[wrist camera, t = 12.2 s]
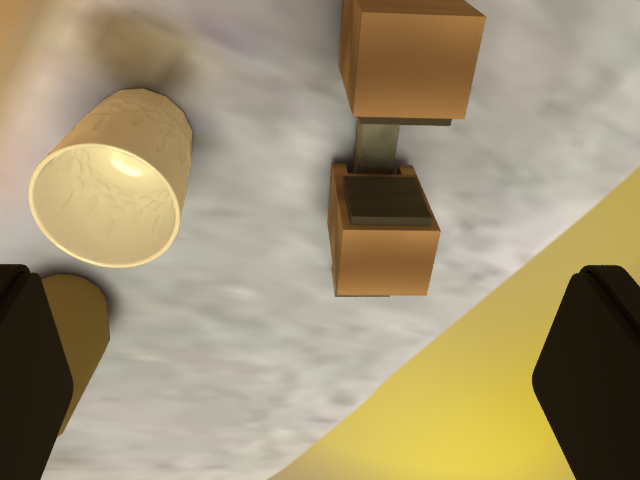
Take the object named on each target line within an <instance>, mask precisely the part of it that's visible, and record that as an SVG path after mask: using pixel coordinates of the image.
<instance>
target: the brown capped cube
mask: <svg viewBox="0 0 640 480" xmlns="http://www.w3.org/2000/svg"><path fill="white" fill-rule="evenodd" d="M327 223H328V230H329V238H330V246H331V254H332V261H333V269H334V277H335V285H336V293H337V295H417V296H427V291H428V286H429V282H430V277H431V273H432V268H433V264H434V259H435V254H436V250H437V245H438V241H439V236H440V232H441V231H440V228H439V226H438V224H437V221H436V219H435V217H434V215H433V212H432V210H431V208H430V205H429V203H428V201H427V198H426V196H425V194H424V191H423V189H422V187H421V185H420V182H419V180H418V178H417V175H416V173H415V171H414V168H413V166H412V165H398V171H397V175H394V174H348V171H347V167H346V164H341V163H332V168H331V181H330V195H329V208H328V222H327Z"/></svg>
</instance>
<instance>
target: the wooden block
mask: <svg viewBox="0 0 640 480" xmlns="http://www.w3.org/2000/svg"><path fill="white" fill-rule="evenodd" d="M485 19H486V16H484V15H483V14H482V13H480V12H479V11H478V10H476V9H475V8H474V7H472V6H471V5H470V4H468V3H467V2H466V1H464V0H343V6H342V21H341V36H340V51H339V69H340V72H341V76H342V79H343V83H344V86H345V90H346V93H347V97H348V100H349V104H350V107H351V111H352V114H353V117H359V120H360V124H386V125H433V126H450V125H451V120H452V119H465V114H466V109H467V105H468V100H469V95H470V90H471V86H472V81H473V76H474V71H475V67H476V62H477V57H478V52H479V48H480V43H481V38H482V33H483V29H484V24H485Z"/></svg>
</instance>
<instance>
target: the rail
mask: <svg viewBox="0 0 640 480" xmlns="http://www.w3.org/2000/svg"><path fill="white" fill-rule="evenodd" d="M398 131H399V125H386V124H360V120H359V117H358V122H357V133H356V144H355V154H354V165H353V174H393V167H394V160H395V153H396V146H397V138H398ZM332 277H333V285H334V293H335V297H390V295H337V293H336V285H335V277H334V269H333V264H332Z"/></svg>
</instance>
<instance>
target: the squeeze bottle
mask: <svg viewBox="0 0 640 480" xmlns="http://www.w3.org/2000/svg"><path fill="white" fill-rule="evenodd" d="M42 283H43V287H44V290H45V293H46V296H47V299H48V302H49V305H50V309H51V312H52V315H53V318H54V321H55V324H56V327H57V331H58V334H59V337H60V340H61V343H62V346H63V350H64V353H65V356H66V359H67V362H68V365H69V368H70V372H71V375H72V378H73V385H74V388H73V396H72V399H71V402H70V405H69V408H68V410H67V413H66V415H65V418H64V420H63V423H62V425H61V428H60V431H59V433H58V436H59V435H61V434H62V433H63V431H64V429H65V427H66V425H67V424H68V422H69V420H70V418H71V416H72V414H73V412H74V410H75V408H76V406H77V404H78V402H79V400H80V398H81V396H82V394H83V392H84V391H85V389H86V387H87V385H88V383H89V381H90V379H91V377H92V375H93V373H94V371H95V369H96V367H97V365H98V363H99V361H100V359H101V358H102V356H103V354H104V352H105V349H106V347H107V345H108V342H109V340H110V332H109V321H108V311H107V303H106V298H105V296H104V294H103V293H102V292H101V290H100V289H99V288H98V287H97V286H96V285H94V284H93V283H91V282H90V281H89V280H87V279H85V278H82V277H78V276H75V275H72V274H55V275H52V276H48V277H45V278H43V279H42ZM58 436H57V437H58Z"/></svg>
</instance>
